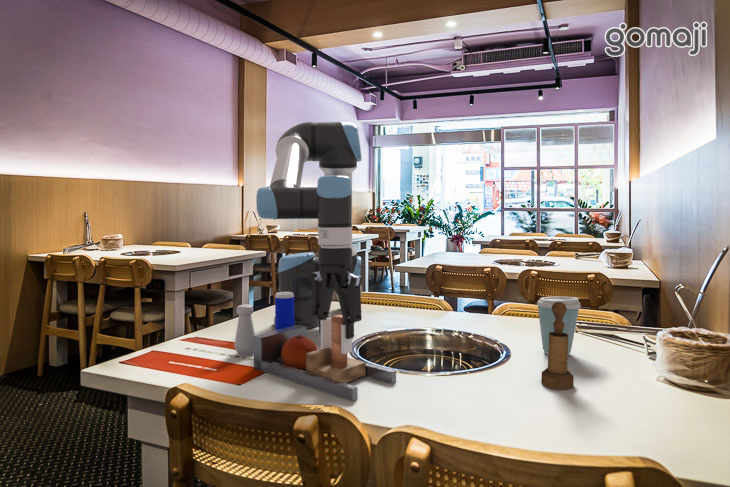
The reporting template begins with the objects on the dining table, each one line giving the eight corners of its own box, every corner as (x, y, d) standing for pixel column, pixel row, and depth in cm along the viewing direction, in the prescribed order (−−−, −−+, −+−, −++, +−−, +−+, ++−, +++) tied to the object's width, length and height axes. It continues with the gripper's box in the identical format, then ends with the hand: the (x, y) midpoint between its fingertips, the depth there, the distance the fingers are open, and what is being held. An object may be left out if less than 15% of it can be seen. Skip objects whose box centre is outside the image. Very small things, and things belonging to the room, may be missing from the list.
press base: (298, 354, 132) (298, 324, 131) (396, 381, 112) (396, 346, 111) (253, 368, 121) (253, 335, 120) (352, 401, 101) (352, 361, 100)
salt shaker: (251, 357, 129) (250, 307, 128) (230, 356, 131) (229, 307, 130) (260, 351, 135) (259, 303, 134) (240, 350, 136) (239, 302, 135)
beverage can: (298, 345, 141) (297, 292, 139) (288, 350, 136) (287, 295, 135) (282, 343, 143) (281, 291, 142) (272, 348, 138) (271, 293, 137)
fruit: (287, 377, 115) (286, 342, 114) (277, 365, 123) (277, 333, 123) (324, 371, 119) (323, 338, 118) (312, 361, 127) (312, 329, 126)
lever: (339, 367, 120) (339, 309, 119) (365, 375, 115) (365, 314, 114) (306, 380, 112) (305, 317, 111) (332, 388, 107) (332, 323, 105)
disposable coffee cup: (528, 354, 132) (529, 297, 131) (546, 345, 140) (547, 291, 139) (569, 362, 125) (571, 302, 123) (585, 353, 132) (587, 296, 131)
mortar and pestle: (570, 392, 105) (572, 306, 104) (538, 386, 108) (539, 303, 107) (575, 382, 111) (578, 301, 109) (545, 377, 114) (546, 298, 113)
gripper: (293, 245, 114) (295, 346, 116) (355, 249, 102) (356, 361, 104) (317, 243, 120) (318, 340, 122) (378, 247, 108) (379, 353, 110)
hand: (336, 349), depth 113 cm, fingers closed on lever, 5 cm apart
